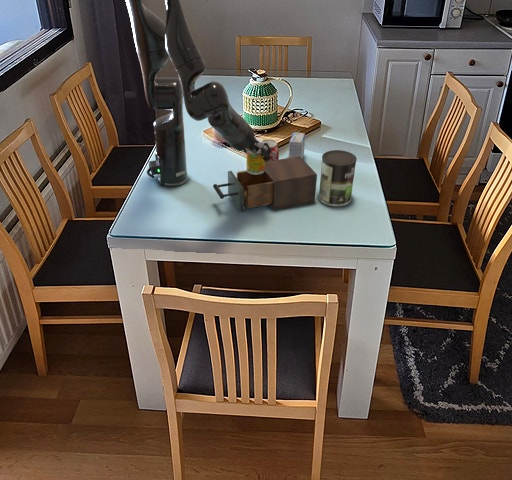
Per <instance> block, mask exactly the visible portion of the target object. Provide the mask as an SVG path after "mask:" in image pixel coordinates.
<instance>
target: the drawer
mask: <svg viewBox="0 0 512 480" xmlns="http://www.w3.org/2000/svg"><path fill="white" fill-rule="evenodd" d="M223 187H227V193H225V194H224V193H223V191H222V190H221V188H223ZM212 188H213V189H214V191H215V193H216V194H217V196H218V197H219V199H220V200H224V198H227V197H230V199H231V201H232V202H233V204H234V205H235V207H236V208H237V210H238V211H239V212H240V213H244V212H245V207H246V208H247V209H252V208H258V207H264V206H270V204H273V182H272V180H271V179H270V178H269V177H268V175H267V174H266V173H265V172H263V173H262V174H257V175H254V174H250V173H248V172H247V169H245V170H241V171H236V175H235V174H234V172H233V171H232V170H228V171H227V183H221V184H217V183H214V184H213V185H212Z"/></svg>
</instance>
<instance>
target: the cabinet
mask: <svg viewBox="0 0 512 480" xmlns="http://www.w3.org/2000/svg"><path fill="white" fill-rule="evenodd" d="M264 172H265V173H266V174H267V175H268V177H269V178H270V179H271V180H272V182H273V204H270V205H269V207H270V208H271V209H272V210H273V211H276V210H281V209H287V208H292V207H297V206H304V205H310V204H315V202H316V192H317V181H318V174H317V172H316V171H314V169H313V168H312V167H311V166H310V165H309V164H308V163H307V162H306V160H304V158H303V159H302V158H301V157H300V156H298V157H292V158H289V157H286V158H279V160H273V161H266V162H265V170H264Z"/></svg>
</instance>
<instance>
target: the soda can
mask: <svg viewBox="0 0 512 480" xmlns="http://www.w3.org/2000/svg"><path fill="white" fill-rule="evenodd" d="M264 143H267V144H268V145H269V147H270V148H271V150H272V151H271V153H270V159H269V161H273V160H279V159H280V156H279V155H280V147H279V146H278V142H277V141H276V140H274V139H263V144H264ZM265 162H266V161H265Z"/></svg>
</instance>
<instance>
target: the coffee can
mask: <svg viewBox="0 0 512 480" xmlns="http://www.w3.org/2000/svg"><path fill="white" fill-rule="evenodd" d="M356 165H357V156H356V155H355V154H354V153H352V152H350V151H346V150H342V149H341V150H340V149H333V150H328V151H325V152H324V153H322V156H321V170H320V180H319V192H318V200H319V201H320V202H321V203H322V204H324V205H326V206H329V207H344V206H347V205H349V204H350V203H351V201H352V194H353V193H352V192H353V188H354V187H353V186H354V179H355V171H356Z"/></svg>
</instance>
